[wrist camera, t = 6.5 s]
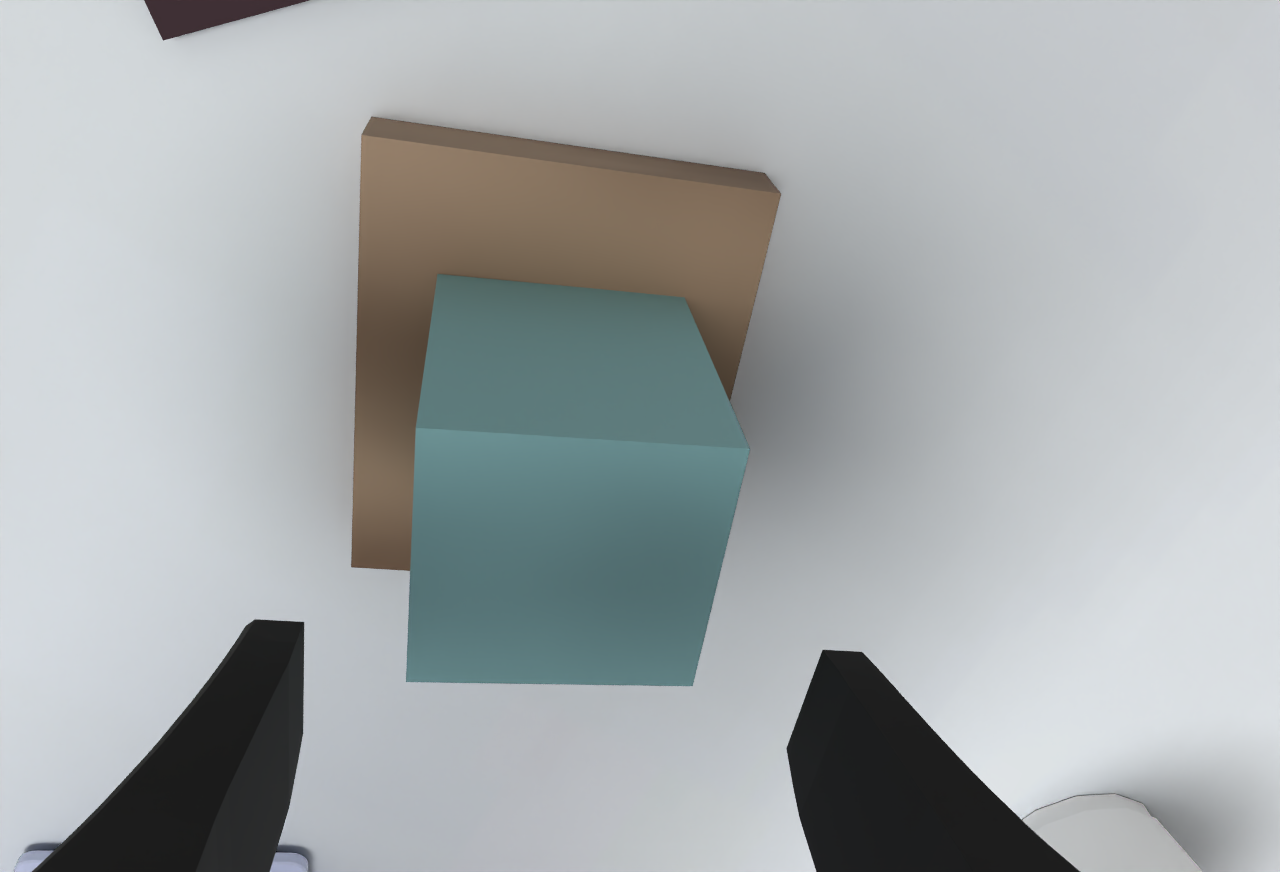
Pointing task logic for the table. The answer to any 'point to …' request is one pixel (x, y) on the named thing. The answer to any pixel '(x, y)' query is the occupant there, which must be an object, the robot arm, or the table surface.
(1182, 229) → the table surface
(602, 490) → the teal block
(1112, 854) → the foam cup
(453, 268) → the walnut slab
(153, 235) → the table surface
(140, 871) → the robot arm
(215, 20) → the chocolate bar
